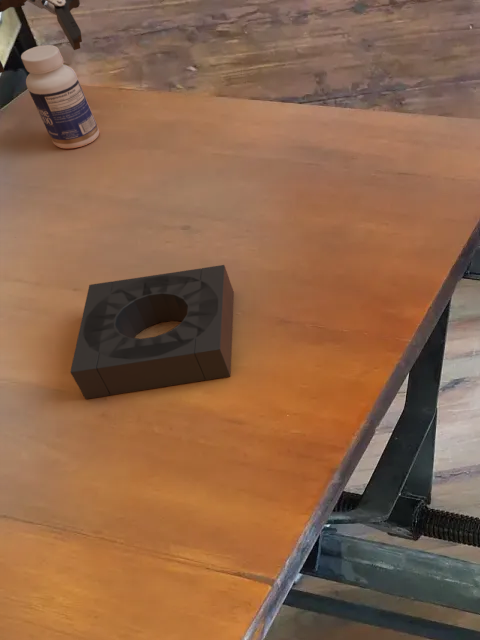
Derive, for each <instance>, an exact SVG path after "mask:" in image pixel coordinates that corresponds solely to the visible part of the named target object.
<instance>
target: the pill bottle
mask: <svg viewBox="0 0 480 640" xmlns="http://www.w3.org/2000/svg"><path fill="white" fill-rule="evenodd" d="M20 58H21V61H22V64H23V66H24V68H25V70H26V72H28V75H27V76H26V79H25V86H26V88H27V91H28V93H29V94H30V96H31V99H32V101H33V103H34V105H35V108H36V110H37V112H38V114H39V116H40V118H41V120H42V123H43V124H44V127H45V129H46V131H47V133H48V135H49V137H50V139H51V141H52V144H54V145H55V146H56V147H58V148H61V149H76V148H81V147H85V146H87V145H89V144H92V143H93V142H94V141H95V140H97V138H98V137H99V136H100V129H99V126H98V124H97V121H96V119H95V116H94V114H93V111H92V109H91V107H90V104H89V103H88V100H87V97H86V95H85V93H84V90H83V88H82V85H81V83H80V80H79V78H78V75H77V73H76V72H75V70H74V69H73V68H72V67H71V66H68V65H66V64H64V57H63V56H62V53H61V51H60V49H59V47H57V46H56V45H53V44H43V45H42V44H41V45H37V46H34V47H31V48H29V49H27V50H26V49H25V51H23V52H22V53H21V55H20Z"/></svg>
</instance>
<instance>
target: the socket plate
mask: <svg viewBox="0 0 480 640" xmlns="http://www.w3.org/2000/svg"><path fill="white" fill-rule="evenodd" d="M234 296H235V292H234V288H233V286H232V283H231V279H230V277H229V274H228V271H227V268H226V266H225V264H221V265H213V266H207V267H201V268H193V269H187V270H182V271H181V270H180V271H173V272H167V273H159V274H153V275H146V276H140V277H133V278H126V279H119V280H113V281H106V282H99V283H93V284H92V283H91V284H89V285H88V289H87V294H86V298H85V302H84V303H85V304H84V307H83V312H82V317H81V322H80V327H79V331H78V335H77V340H76V344H75V349H74V353H73V358H72V362H71V367H70V374H71V376H72V378H73V380H74V382H75V383H76V385H77V386H78V388H79V391H80V392H81V394H82V396H83V397H84V399H85V400H90V399H96V398H102V397H109V396H113V395H121V394H127V393H134V392H139V391H146V390H151V389H152V390H153V389H159V388H166V387H172V386H178V385H185V384H191V383H196V382H204V381H210V380H216V379H217V380H219V379H224V378H229V377H231V371H232V348H233V347H232V346H233V344H232V343H233V320H234ZM172 321H173V322H174V321H176V322H180V323H179V324H178V325H176V326H175V327H173V328H172V329H170V330H168V331H166V332H163V333H161V334H159V335H156V336H150V337H144V338H138V337H136V336H137V335H138V334H139V333H141V332H142V331H143V330H145V329H146V328H149V327H151V326H155V325H158V324H159V323H165V322H172Z"/></svg>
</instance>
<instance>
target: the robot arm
mask: <svg viewBox="0 0 480 640" xmlns="http://www.w3.org/2000/svg"><path fill="white" fill-rule="evenodd" d="M27 2H29V3H30V4H32V5H33V6H35V7H36V8H39V9H41V10H43V9H44V10H46V11H47V12H50V13H51V14H53V15H54V16H56V20H57V23H58V24H59V26H60V28H61V29H62V31H63V33H64V35H65V37H66V39H67V40H68V42H69V45H70V46H71V48H72V50H74V51H76V50H80V49H81V43H83V40H82V39H83V38H82V32H81V29H80V27H79V25H78V23H77V21H76V19H75V17H74V16H73V14H72V13H71V11H72V10H73V9H78V8H79V7H80V0H0V13H2V12H5V11H7V10H8V9H10V8H20V7H23V6H26V4H25V3H27ZM1 73H5V68H4V65H3V63H2V61H1V60H0V74H1Z"/></svg>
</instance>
